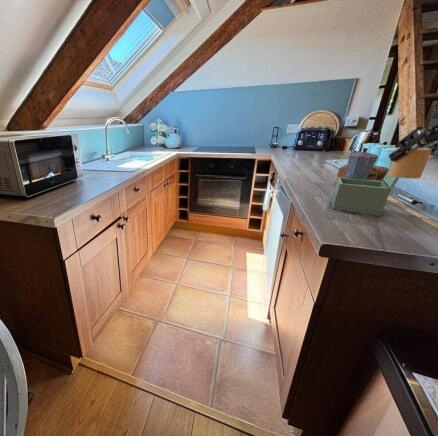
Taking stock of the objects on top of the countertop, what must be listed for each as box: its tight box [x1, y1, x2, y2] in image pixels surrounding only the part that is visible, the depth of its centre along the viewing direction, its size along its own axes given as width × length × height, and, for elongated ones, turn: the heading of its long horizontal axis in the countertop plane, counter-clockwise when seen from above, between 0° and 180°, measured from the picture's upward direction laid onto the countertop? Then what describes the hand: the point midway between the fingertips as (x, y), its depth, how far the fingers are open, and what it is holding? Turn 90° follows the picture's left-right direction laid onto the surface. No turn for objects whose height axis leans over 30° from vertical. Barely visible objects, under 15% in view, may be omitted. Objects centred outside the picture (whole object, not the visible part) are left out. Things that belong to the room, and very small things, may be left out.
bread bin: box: [331, 177, 392, 217], centre depth 90 cm, size 14×12×10 cm
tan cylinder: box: [388, 146, 432, 179], centre depth 62 cm, size 6×6×7 cm
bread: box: [336, 164, 390, 185], centre depth 119 cm, size 19×11×10 cm, turn 73°
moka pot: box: [345, 147, 379, 180], centre depth 103 cm, size 10×15×20 cm, turn 170°
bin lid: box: [383, 141, 417, 189], centre depth 81 cm, size 14×12×1 cm
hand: (403, 158), depth 63 cm, fingers closed on tan cylinder, 6 cm apart
